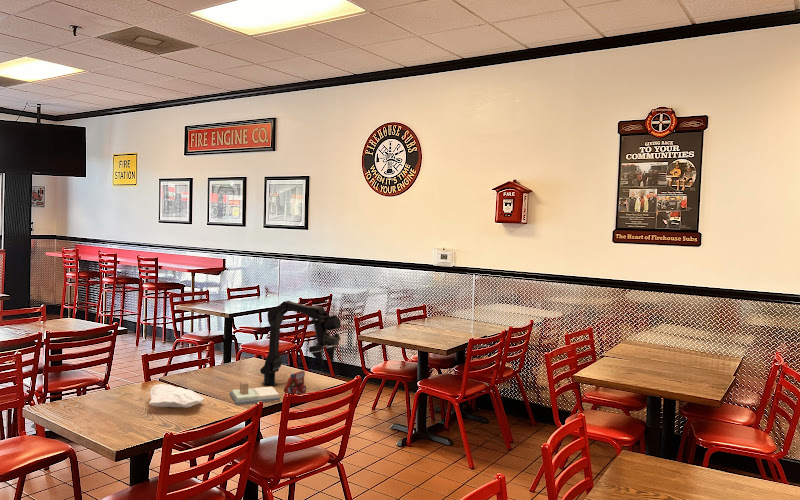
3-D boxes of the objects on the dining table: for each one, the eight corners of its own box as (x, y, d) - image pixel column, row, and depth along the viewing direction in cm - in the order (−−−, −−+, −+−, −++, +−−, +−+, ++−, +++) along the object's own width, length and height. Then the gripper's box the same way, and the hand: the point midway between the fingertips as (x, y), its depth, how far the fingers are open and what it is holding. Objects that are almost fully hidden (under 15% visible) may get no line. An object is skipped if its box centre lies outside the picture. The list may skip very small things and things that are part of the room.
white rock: (167, 418, 260) (170, 396, 260) (127, 400, 282) (130, 380, 283) (215, 414, 277) (218, 394, 278) (174, 397, 300) (177, 378, 301)
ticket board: (229, 394, 301) (230, 388, 300) (270, 390, 309) (271, 385, 309) (236, 405, 284) (236, 399, 284) (279, 400, 293) (279, 394, 293)
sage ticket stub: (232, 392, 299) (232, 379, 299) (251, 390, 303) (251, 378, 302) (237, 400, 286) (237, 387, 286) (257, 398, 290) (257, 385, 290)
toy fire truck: (280, 395, 303) (281, 374, 302) (298, 389, 313) (298, 369, 313) (291, 397, 299) (292, 376, 298) (308, 391, 309) (308, 371, 309)
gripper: (324, 332, 294) (330, 364, 293) (344, 326, 311) (350, 357, 310) (305, 335, 299) (311, 367, 298) (326, 329, 316) (331, 360, 315)
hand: (327, 363), depth 305 cm, fingers open, 9 cm apart
